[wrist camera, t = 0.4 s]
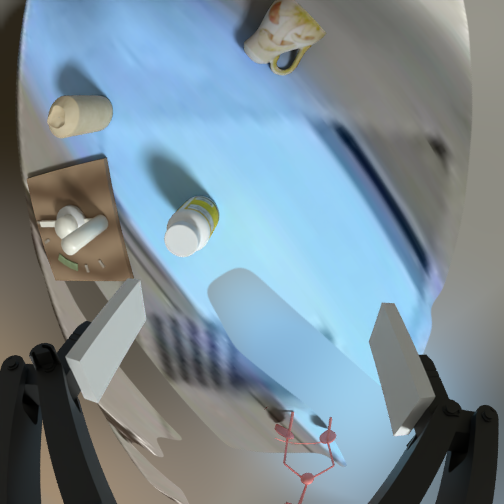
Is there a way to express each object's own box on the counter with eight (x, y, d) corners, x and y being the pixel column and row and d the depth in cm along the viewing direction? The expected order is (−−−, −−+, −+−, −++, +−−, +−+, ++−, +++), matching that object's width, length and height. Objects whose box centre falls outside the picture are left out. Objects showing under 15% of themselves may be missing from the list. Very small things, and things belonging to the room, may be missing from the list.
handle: (105, 203, 42) (70, 224, 33) (111, 240, 44) (80, 267, 36) (39, 206, 43) (5, 225, 35) (46, 238, 46) (14, 261, 37)
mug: (229, 48, 33) (238, -6, 23) (288, 28, 34) (308, -19, 24) (261, 87, 33) (280, 36, 23) (320, 64, 35) (350, 19, 25)
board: (30, 177, 42) (25, 179, 41) (107, 157, 40) (102, 159, 39) (58, 277, 50) (54, 281, 49) (133, 277, 48) (130, 281, 47)
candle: (86, 135, 39) (44, 144, 30) (81, 101, 36) (38, 104, 27) (115, 126, 38) (75, 133, 29) (110, 91, 36) (69, 89, 27)
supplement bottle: (190, 235, 44) (168, 266, 35) (177, 200, 42) (150, 225, 33) (225, 226, 43) (210, 257, 34) (213, 190, 41) (193, 212, 32)
